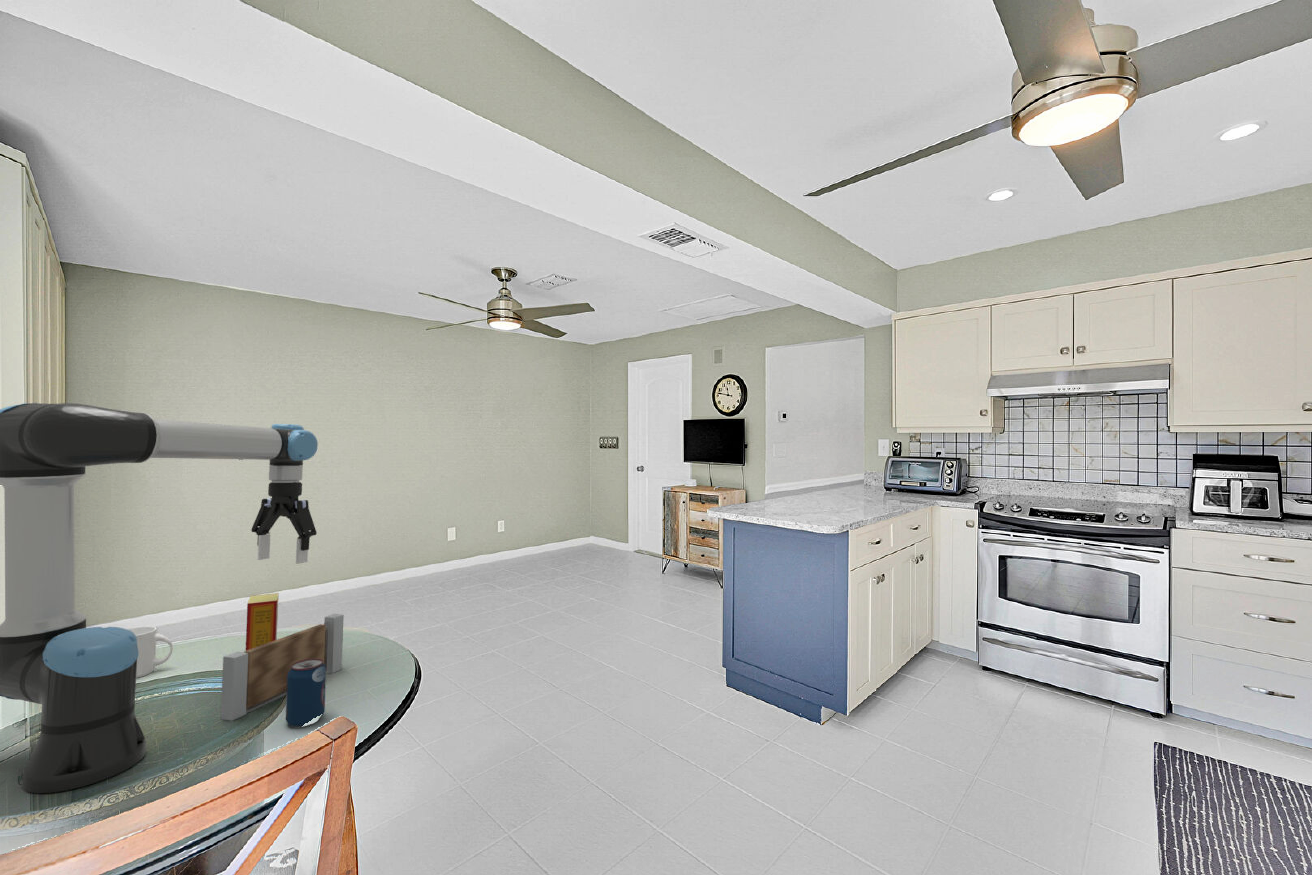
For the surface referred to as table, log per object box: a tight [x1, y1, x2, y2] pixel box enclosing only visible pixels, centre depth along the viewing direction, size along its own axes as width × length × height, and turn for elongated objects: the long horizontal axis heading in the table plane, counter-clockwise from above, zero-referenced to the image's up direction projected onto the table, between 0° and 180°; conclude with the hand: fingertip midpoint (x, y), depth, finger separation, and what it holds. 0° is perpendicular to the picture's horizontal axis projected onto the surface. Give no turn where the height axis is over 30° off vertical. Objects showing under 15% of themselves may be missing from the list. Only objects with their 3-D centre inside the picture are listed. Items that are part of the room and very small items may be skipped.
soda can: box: [284, 659, 327, 729], centre depth 115 cm, size 7×7×12 cm
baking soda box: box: [245, 592, 279, 651], centre depth 152 cm, size 10×6×16 cm
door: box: [243, 622, 328, 708], centre depth 130 cm, size 22×3×12 cm, turn 166°
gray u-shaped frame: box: [220, 613, 345, 722], centre depth 129 cm, size 29×3×14 cm, turn 166°
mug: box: [126, 625, 174, 679], centre depth 138 cm, size 9×12×11 cm
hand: (282, 560), depth 147 cm, fingers open, 13 cm apart
